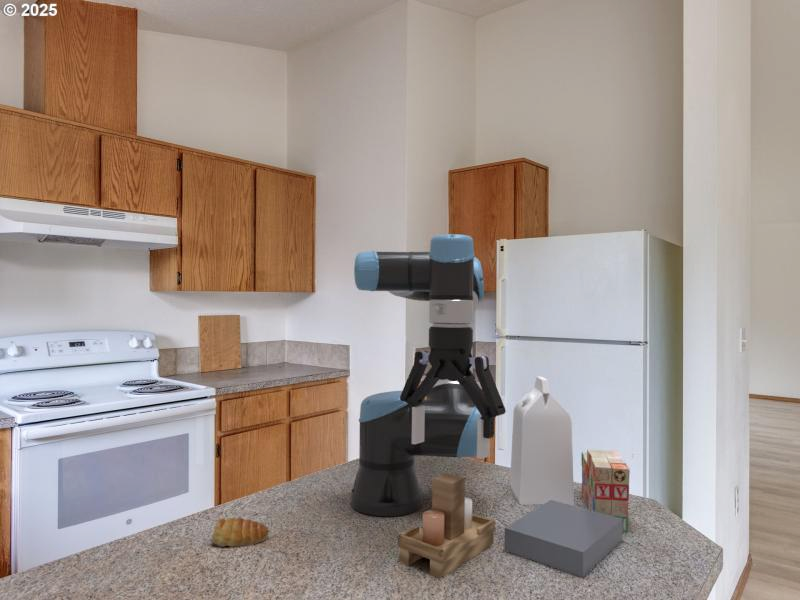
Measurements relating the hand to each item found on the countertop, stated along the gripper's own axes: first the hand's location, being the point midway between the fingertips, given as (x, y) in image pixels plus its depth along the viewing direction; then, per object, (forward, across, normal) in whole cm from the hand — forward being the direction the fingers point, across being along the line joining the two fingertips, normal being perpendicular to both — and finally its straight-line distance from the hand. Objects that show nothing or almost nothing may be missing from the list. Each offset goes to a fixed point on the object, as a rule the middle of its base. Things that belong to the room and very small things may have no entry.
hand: (449, 449), depth 97 cm
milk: (+18, -1, +37) cm, 41 cm away
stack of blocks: (+18, +13, +38) cm, 44 cm away
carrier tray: (+18, 0, 0) cm, 18 cm away
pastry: (+18, -32, -20) cm, 42 cm away
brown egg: (+14, 0, -4) cm, 15 cm away
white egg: (+14, 0, +4) cm, 15 cm away
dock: (+18, +14, +16) cm, 28 cm away
